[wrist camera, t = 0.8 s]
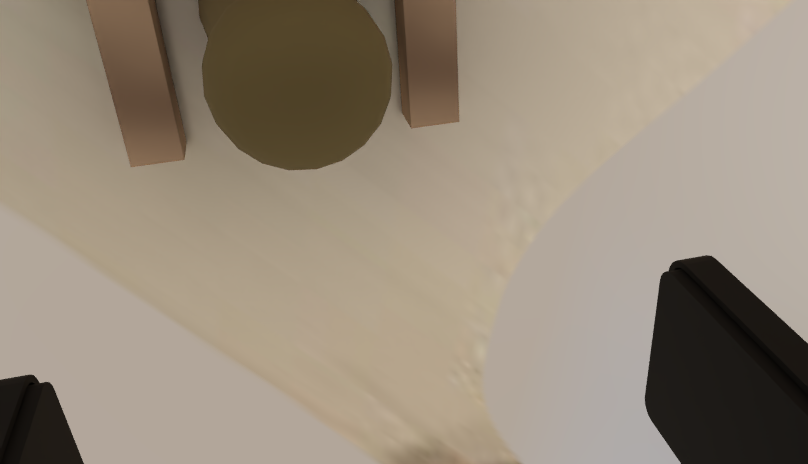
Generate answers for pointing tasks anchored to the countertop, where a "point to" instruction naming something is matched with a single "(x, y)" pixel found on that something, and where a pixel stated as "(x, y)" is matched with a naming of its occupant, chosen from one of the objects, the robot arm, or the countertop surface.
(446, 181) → the countertop surface
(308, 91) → the cork
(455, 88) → the walnut track
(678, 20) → the countertop surface
